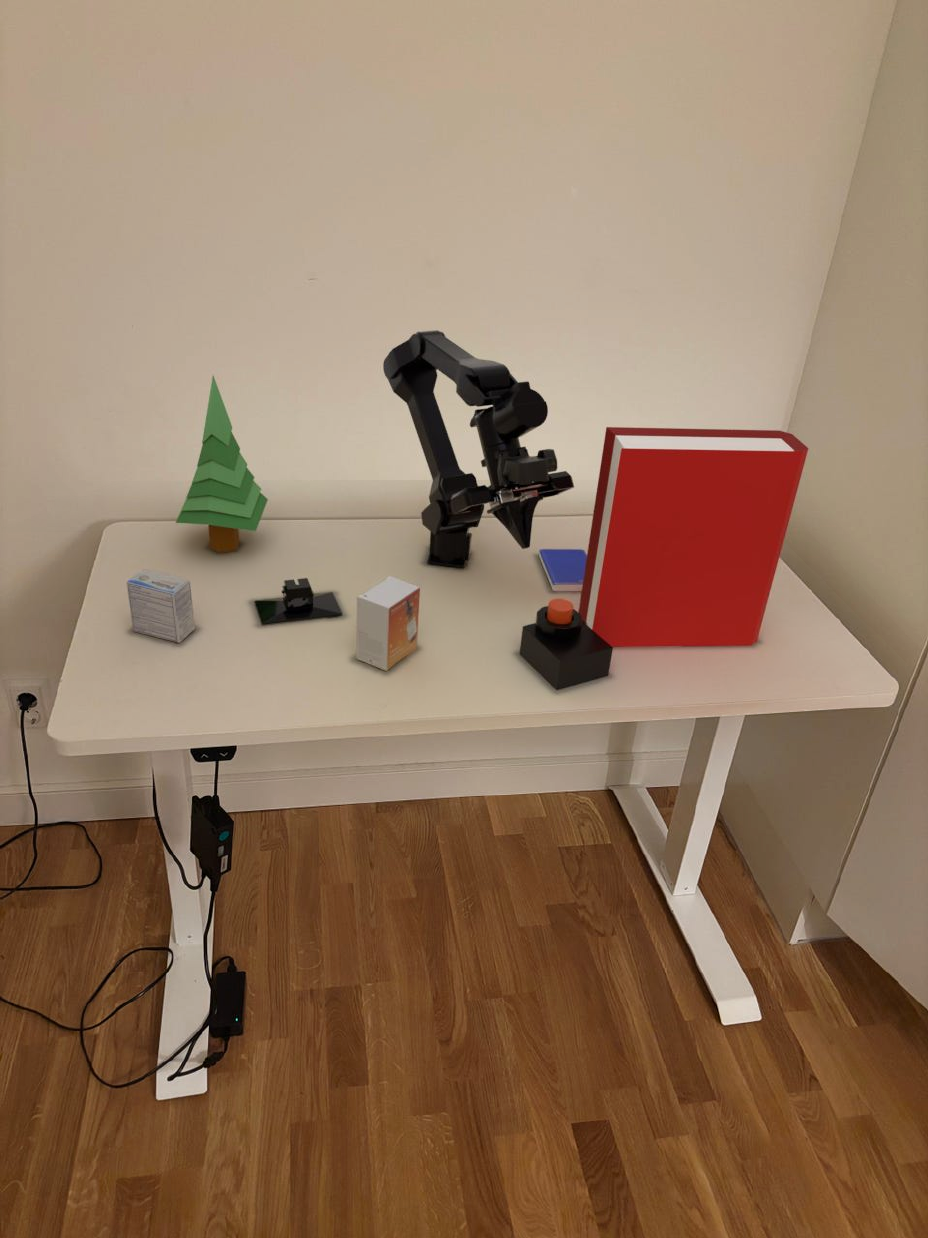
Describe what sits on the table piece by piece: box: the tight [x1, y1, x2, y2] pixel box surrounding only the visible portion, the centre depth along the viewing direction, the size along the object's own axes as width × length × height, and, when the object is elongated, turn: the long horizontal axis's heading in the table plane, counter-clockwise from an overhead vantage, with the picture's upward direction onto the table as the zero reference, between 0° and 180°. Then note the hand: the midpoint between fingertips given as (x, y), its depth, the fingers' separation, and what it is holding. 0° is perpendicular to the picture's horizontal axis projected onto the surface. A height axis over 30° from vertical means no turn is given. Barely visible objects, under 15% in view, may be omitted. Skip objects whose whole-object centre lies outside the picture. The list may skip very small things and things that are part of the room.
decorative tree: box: [175, 375, 269, 554], centre depth 158 cm, size 14×16×30 cm
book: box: [577, 426, 809, 648], centre depth 143 cm, size 27×8×32 cm, turn 97°
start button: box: [547, 598, 575, 624], centre depth 139 cm, size 4×4×2 cm
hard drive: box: [538, 548, 587, 592], centre depth 166 cm, size 2×8×12 cm
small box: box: [355, 575, 421, 672], centre depth 138 cm, size 8×6×10 cm
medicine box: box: [126, 568, 196, 644], centre depth 140 cm, size 8×4×9 cm, turn 71°
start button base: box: [519, 605, 614, 691], centre depth 140 cm, size 11×9×7 cm
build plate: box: [253, 577, 343, 626], centre depth 149 cm, size 12×7×5 cm, turn 109°
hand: (526, 548), depth 145 cm, fingers closed
